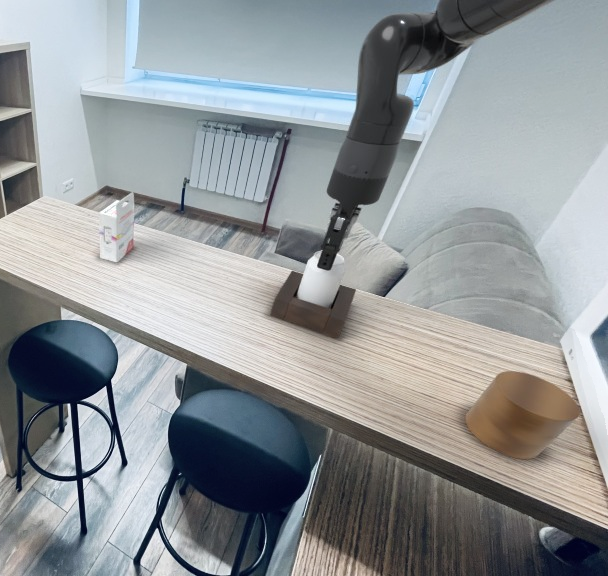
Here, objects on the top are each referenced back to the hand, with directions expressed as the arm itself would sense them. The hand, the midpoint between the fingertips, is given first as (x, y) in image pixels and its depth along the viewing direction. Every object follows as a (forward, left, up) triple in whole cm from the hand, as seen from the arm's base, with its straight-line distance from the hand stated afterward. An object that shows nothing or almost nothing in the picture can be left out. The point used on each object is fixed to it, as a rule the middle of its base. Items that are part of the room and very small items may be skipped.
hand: (328, 257), depth 72 cm
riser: (-31, +6, -12) cm, 33 cm away
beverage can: (0, 0, -12) cm, 12 cm away
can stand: (0, 0, -12) cm, 12 cm away
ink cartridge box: (+41, +15, -12) cm, 45 cm away
